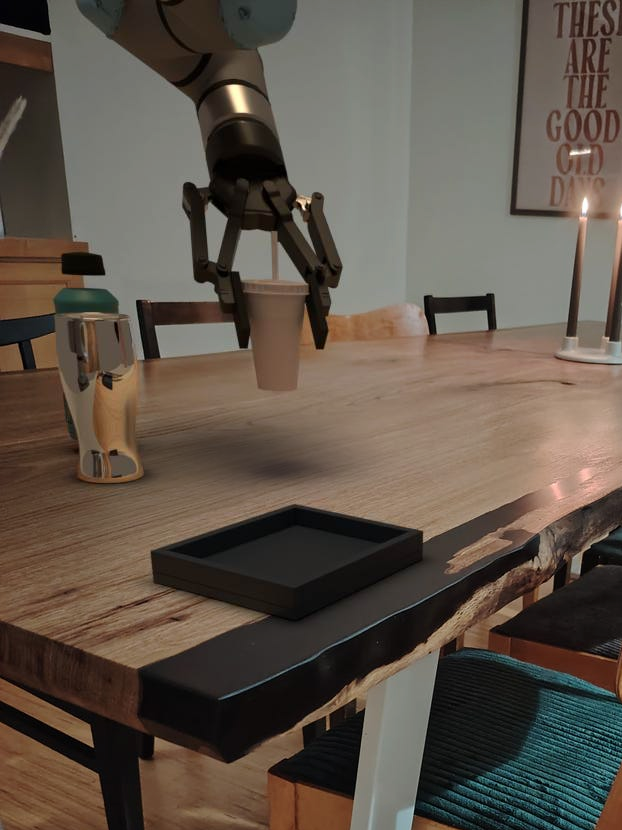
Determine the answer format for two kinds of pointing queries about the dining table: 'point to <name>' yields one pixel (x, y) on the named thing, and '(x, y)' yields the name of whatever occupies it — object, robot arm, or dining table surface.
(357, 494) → the dining table surface
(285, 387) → the smoothie
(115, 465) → the beer glass
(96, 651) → the dining table surface
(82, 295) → the beverage bottle
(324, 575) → the tray
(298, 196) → the robot arm
